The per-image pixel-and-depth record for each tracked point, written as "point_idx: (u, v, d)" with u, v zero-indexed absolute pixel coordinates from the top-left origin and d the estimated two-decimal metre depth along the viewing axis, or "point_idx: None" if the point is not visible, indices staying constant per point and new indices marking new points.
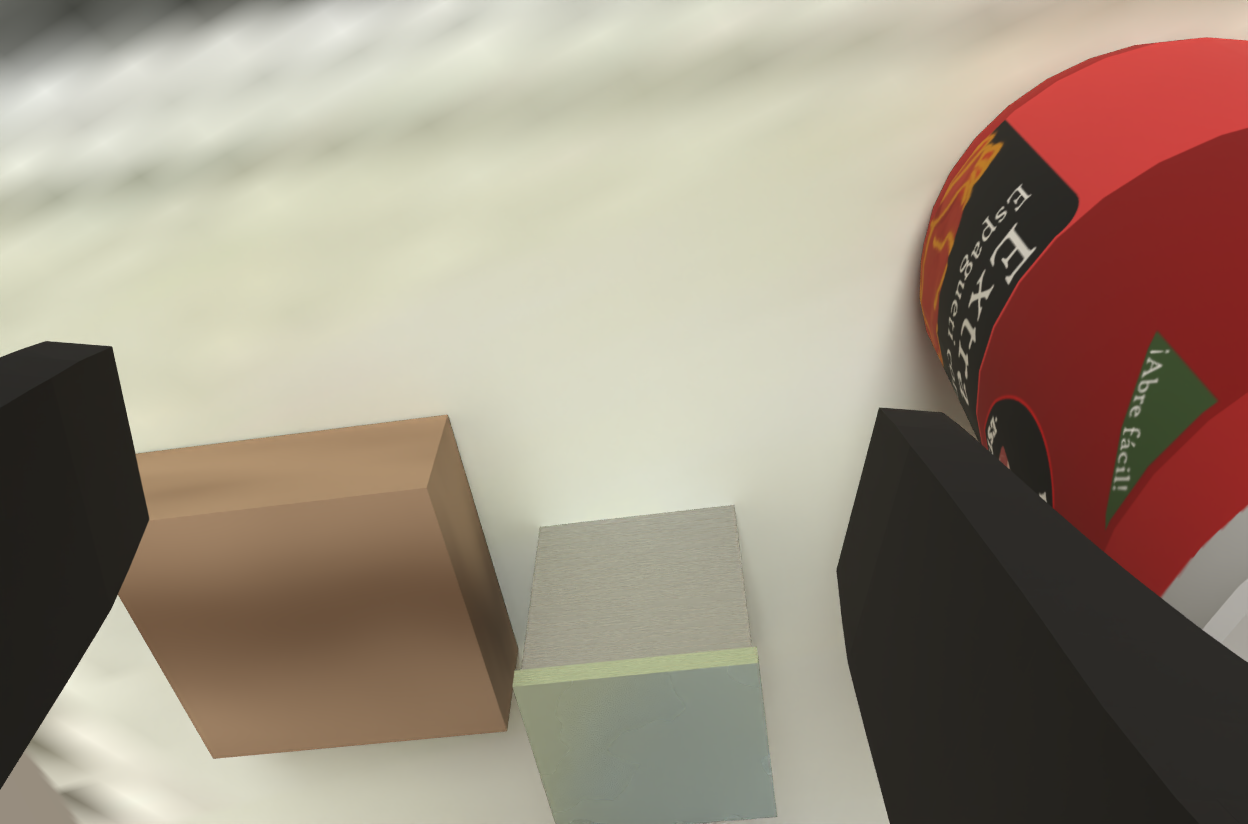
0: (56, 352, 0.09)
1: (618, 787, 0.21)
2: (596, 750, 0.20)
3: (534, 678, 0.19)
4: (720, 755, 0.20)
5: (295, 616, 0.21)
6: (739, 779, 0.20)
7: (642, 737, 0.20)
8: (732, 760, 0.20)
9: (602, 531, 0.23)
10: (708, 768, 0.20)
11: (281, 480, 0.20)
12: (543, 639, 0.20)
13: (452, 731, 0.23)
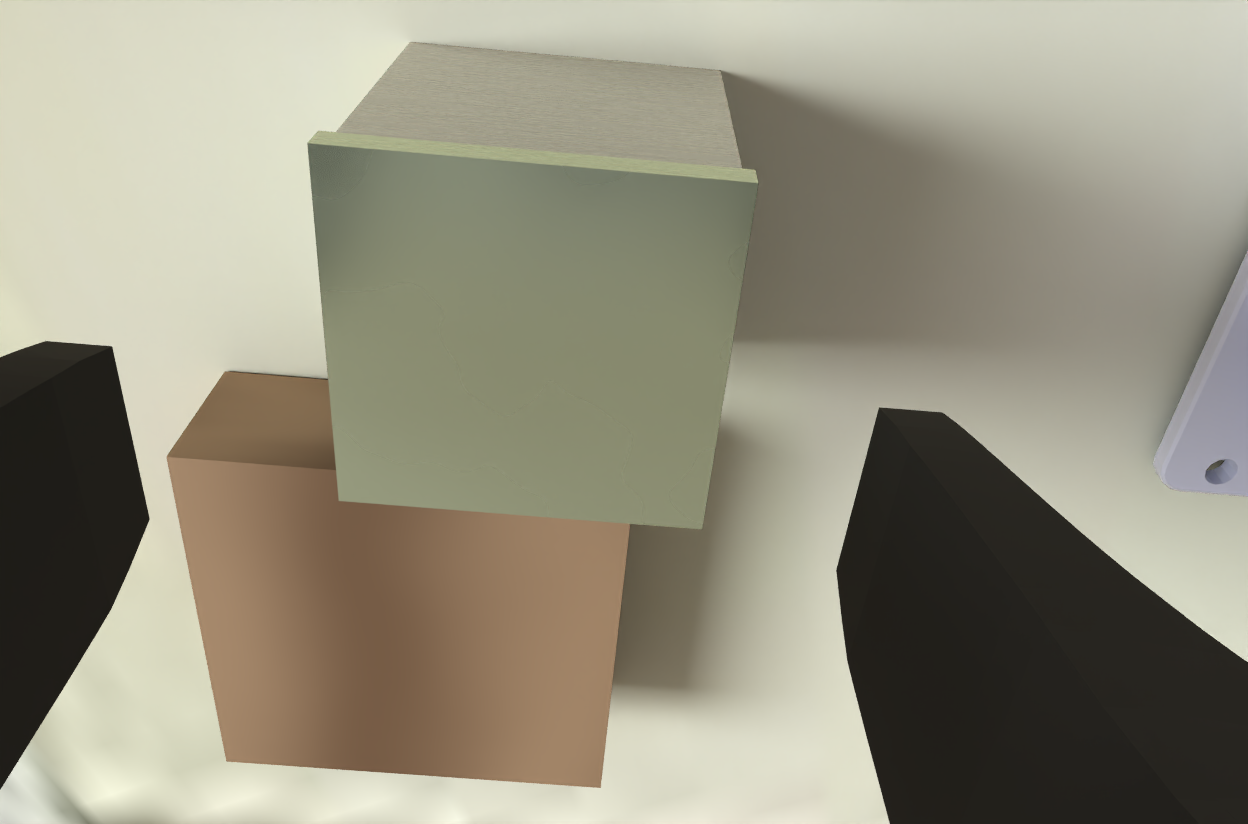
0: (55, 354, 0.09)
1: (601, 423, 0.12)
2: (502, 433, 0.12)
3: None
4: (549, 251, 0.11)
5: (371, 641, 0.17)
6: (625, 233, 0.11)
7: (480, 362, 0.12)
8: (568, 234, 0.11)
9: None
10: (579, 277, 0.11)
11: None
12: None
13: (616, 554, 0.16)
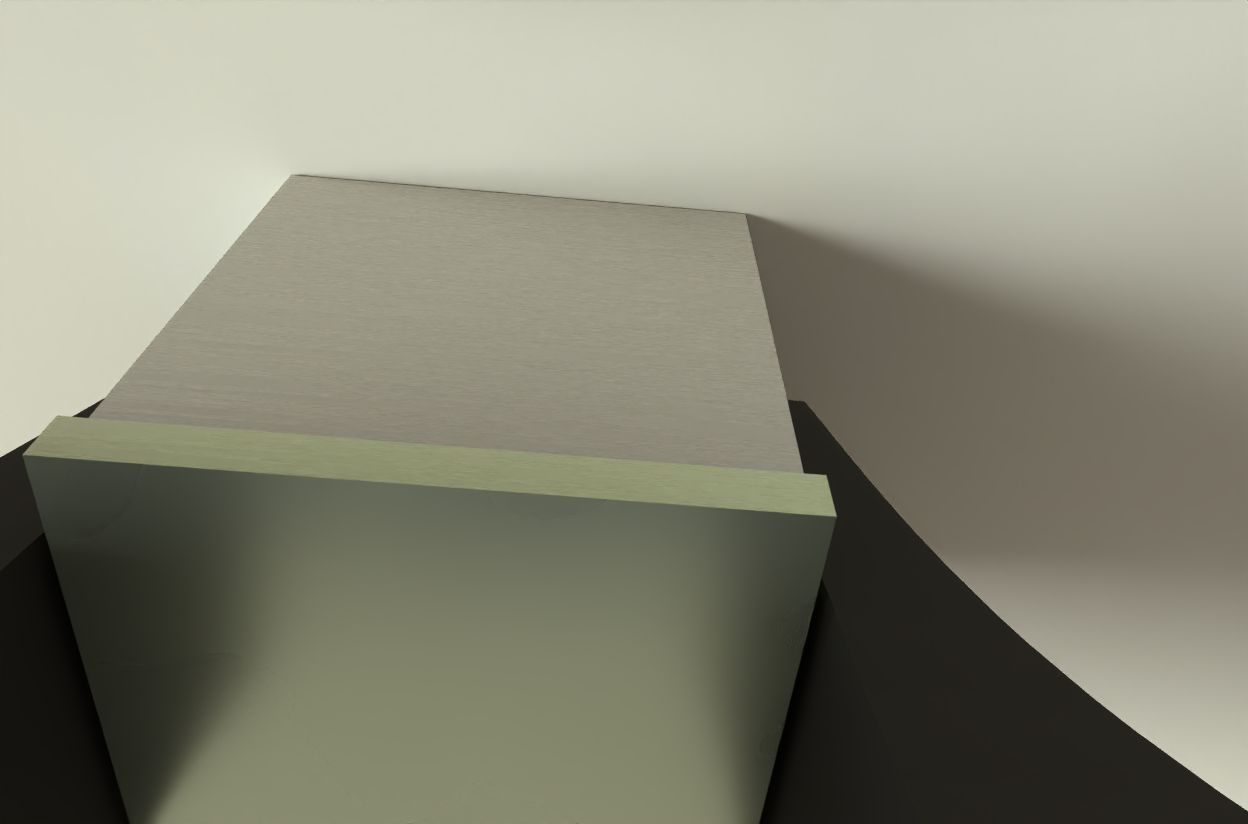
0: None
1: None
2: None
3: None
4: (468, 612, 0.06)
5: None
6: (600, 583, 0.06)
7: (363, 755, 0.07)
8: (500, 587, 0.06)
9: None
10: (523, 646, 0.06)
11: None
12: None
13: None
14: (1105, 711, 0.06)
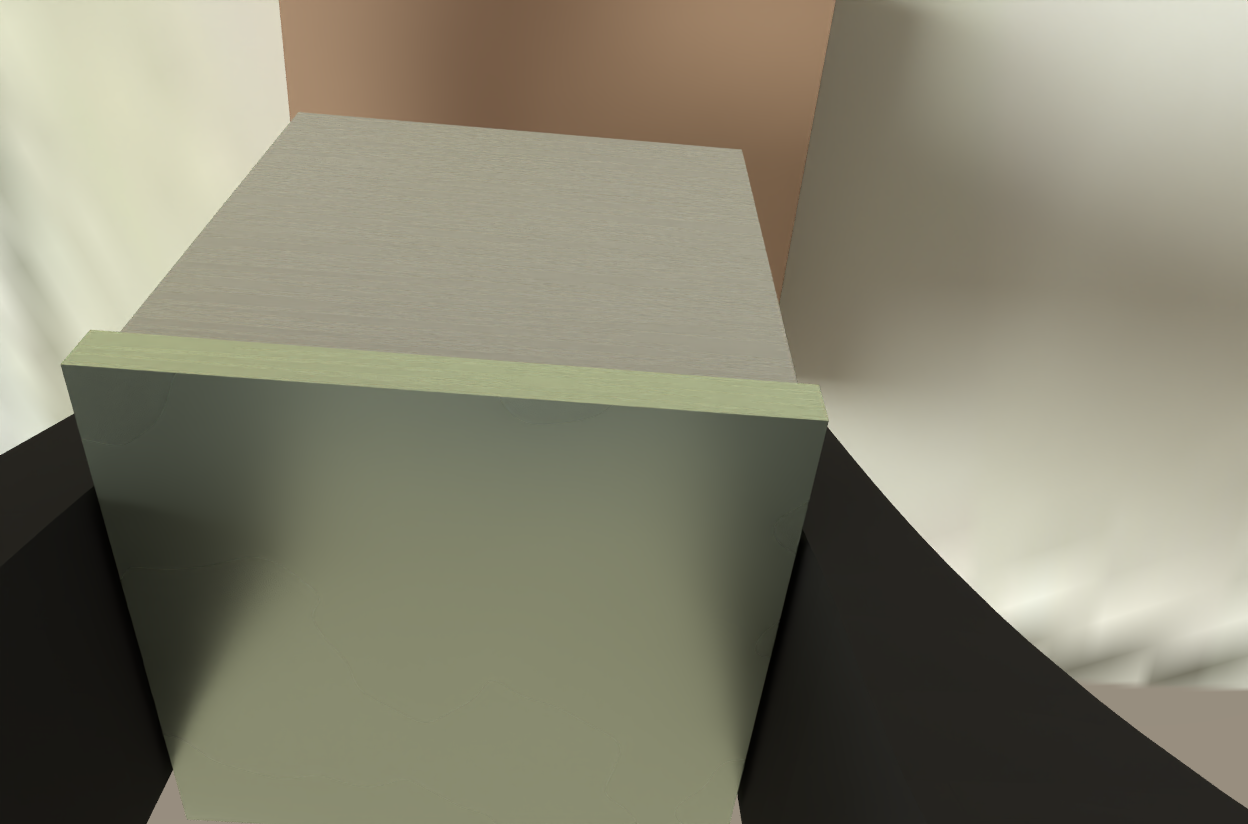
0: None
1: (573, 730, 0.08)
2: (422, 742, 0.08)
3: None
4: (481, 516, 0.07)
5: None
6: (606, 489, 0.07)
7: (382, 657, 0.07)
8: (511, 491, 0.07)
9: None
10: (533, 550, 0.07)
11: None
12: None
13: (805, 95, 0.13)
14: (1107, 710, 0.06)
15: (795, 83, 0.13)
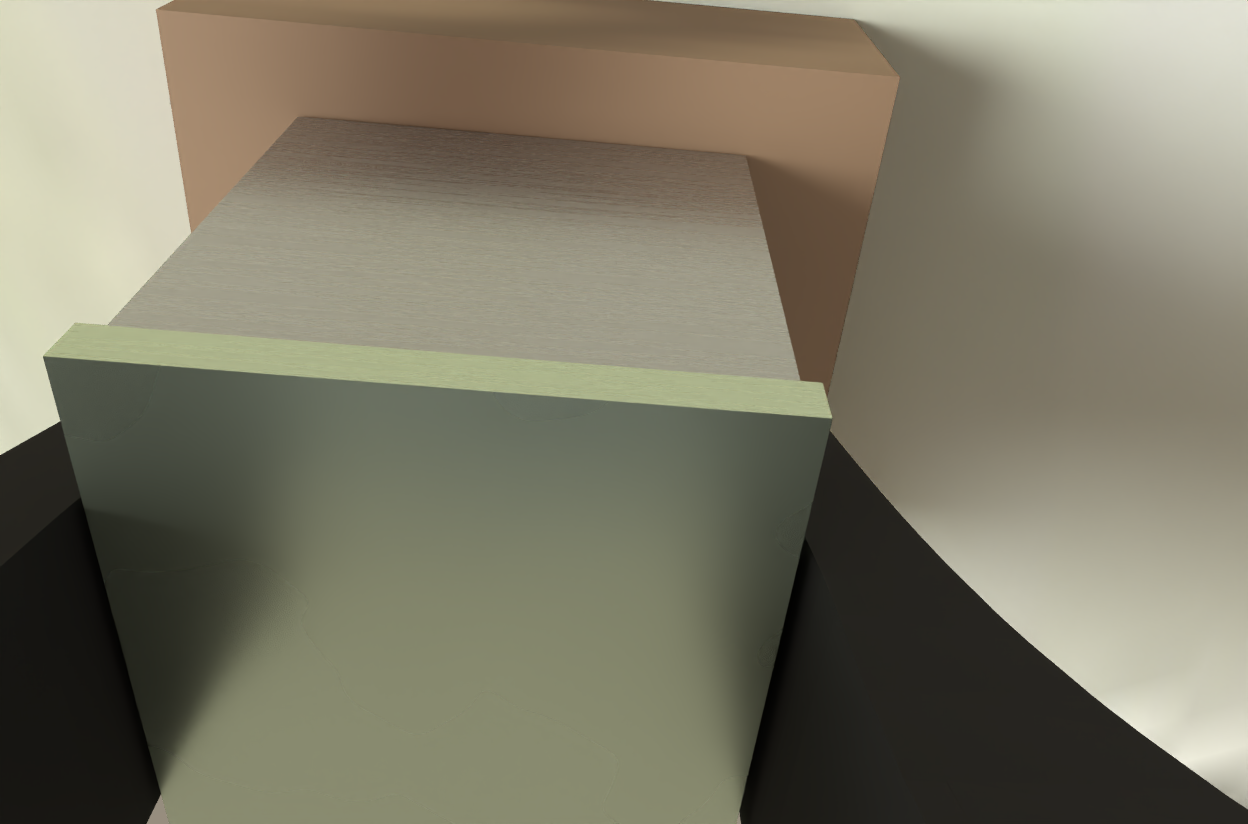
0: None
1: (569, 743, 0.08)
2: (415, 755, 0.08)
3: None
4: (474, 517, 0.06)
5: None
6: (603, 490, 0.06)
7: (372, 664, 0.07)
8: (505, 491, 0.06)
9: None
10: (529, 554, 0.07)
11: None
12: None
13: (856, 198, 0.10)
14: (1107, 710, 0.06)
15: (843, 183, 0.10)
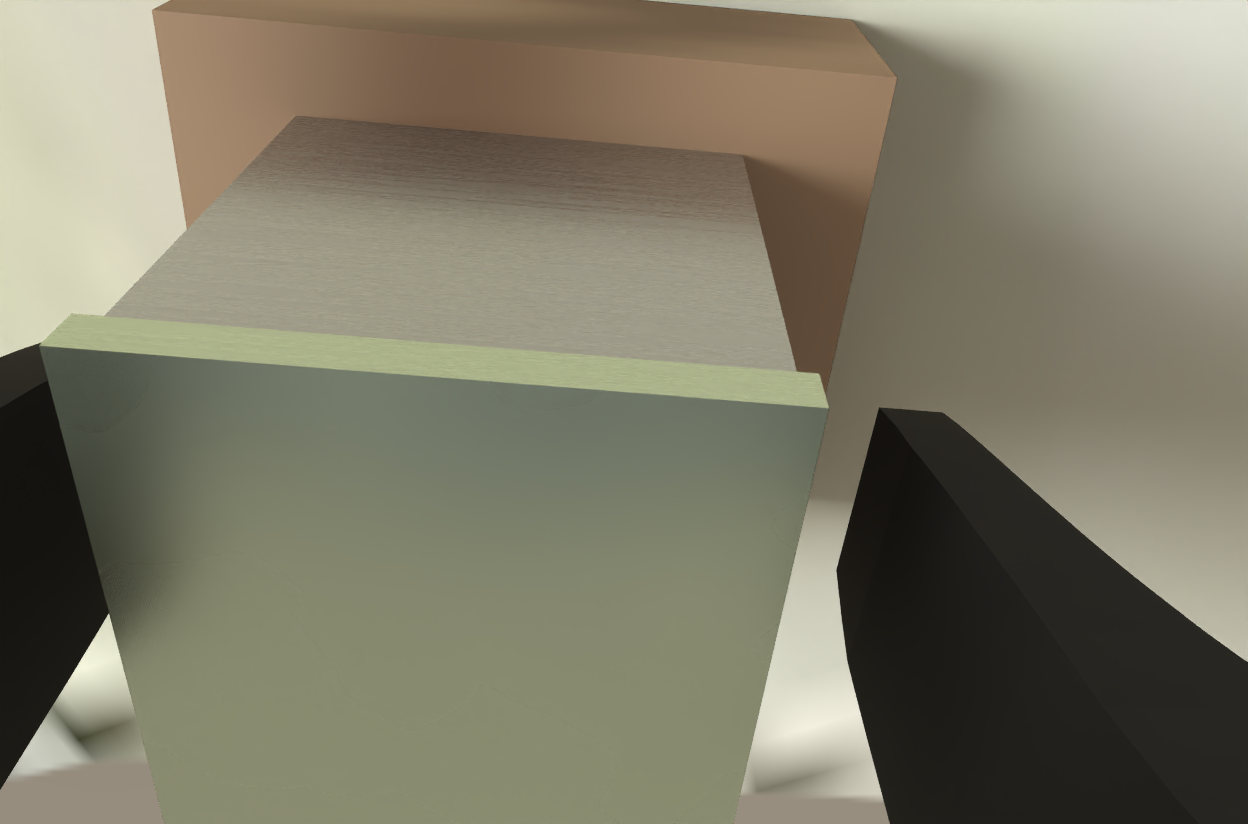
0: None
1: (566, 739, 0.08)
2: (411, 751, 0.08)
3: None
4: (471, 508, 0.06)
5: None
6: (599, 481, 0.06)
7: (369, 659, 0.07)
8: (502, 483, 0.06)
9: None
10: (525, 545, 0.07)
11: None
12: None
13: (853, 198, 0.10)
14: None
15: (841, 183, 0.10)
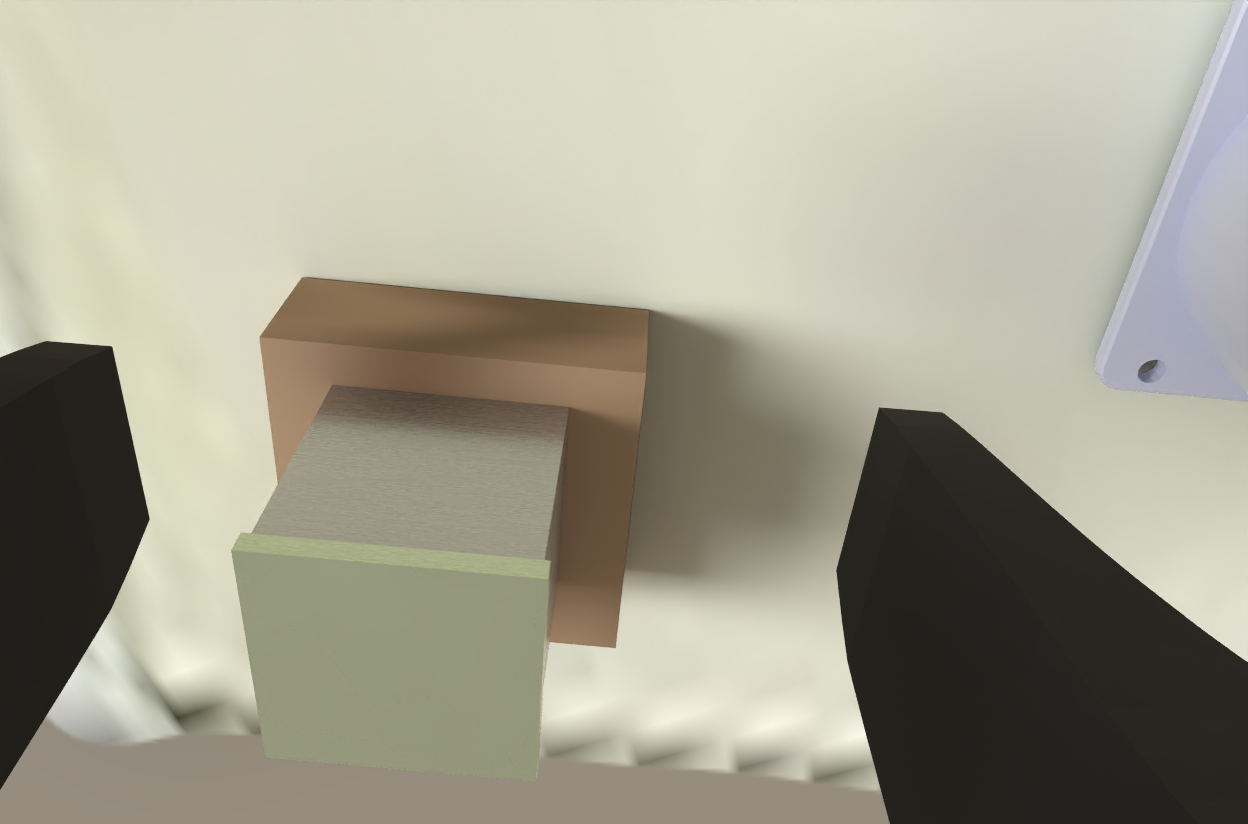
0: (56, 354, 0.09)
1: (454, 714, 0.16)
2: (382, 719, 0.17)
3: None
4: (405, 614, 0.15)
5: None
6: (457, 604, 0.15)
7: (362, 676, 0.16)
8: (417, 604, 0.15)
9: None
10: (428, 628, 0.15)
11: None
12: None
13: (631, 428, 0.19)
14: None
15: (623, 421, 0.19)
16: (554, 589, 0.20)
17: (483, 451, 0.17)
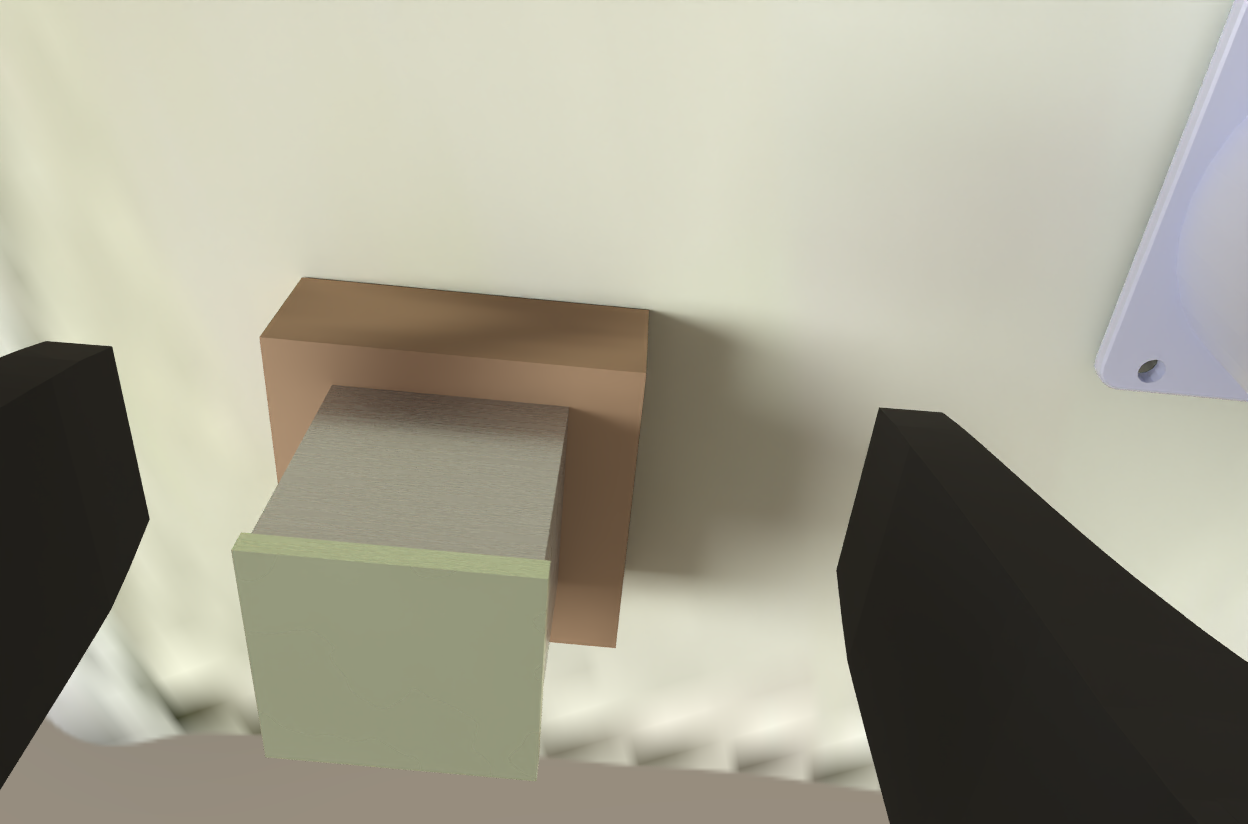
0: (56, 354, 0.09)
1: (454, 714, 0.16)
2: (382, 719, 0.17)
3: None
4: (405, 614, 0.15)
5: None
6: (457, 604, 0.15)
7: (362, 676, 0.16)
8: (417, 604, 0.15)
9: None
10: (428, 628, 0.15)
11: None
12: None
13: (631, 428, 0.19)
14: None
15: (623, 421, 0.19)
16: (554, 589, 0.20)
17: (483, 451, 0.17)
